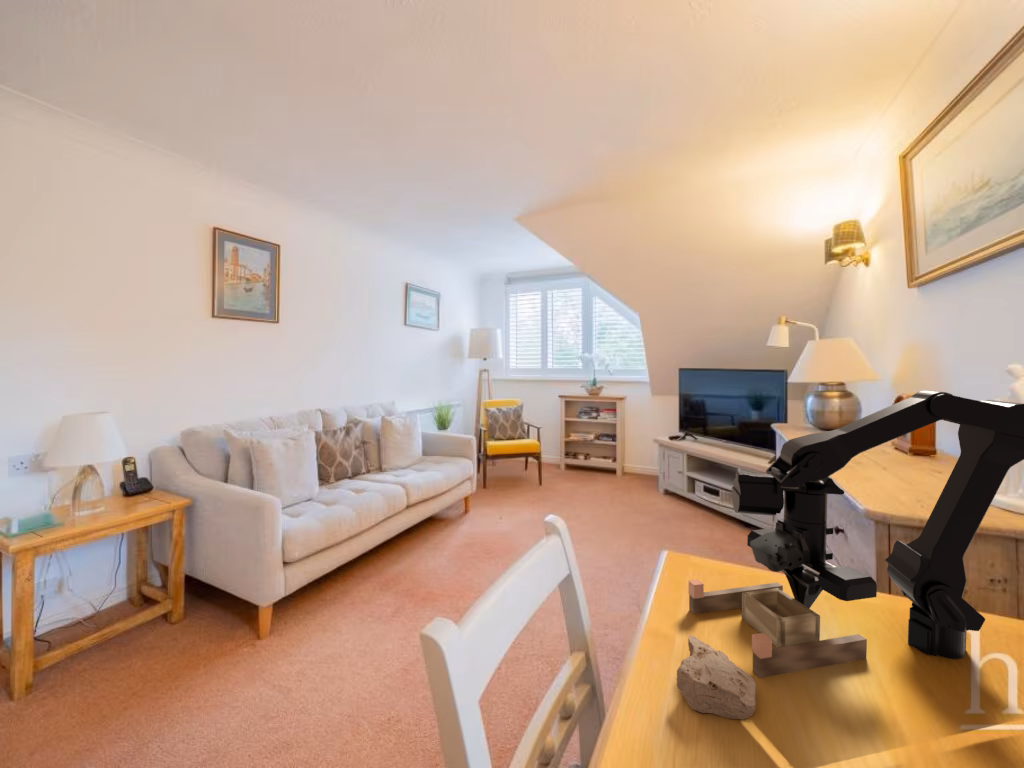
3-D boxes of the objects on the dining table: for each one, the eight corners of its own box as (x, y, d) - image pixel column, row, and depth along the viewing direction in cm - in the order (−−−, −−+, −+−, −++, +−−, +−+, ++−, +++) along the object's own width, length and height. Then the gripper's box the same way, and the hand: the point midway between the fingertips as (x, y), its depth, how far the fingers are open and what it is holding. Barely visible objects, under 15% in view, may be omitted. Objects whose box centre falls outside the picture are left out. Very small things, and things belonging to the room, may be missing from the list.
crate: (777, 613, 71) (777, 587, 71) (819, 643, 63) (820, 615, 63) (741, 618, 70) (742, 592, 70) (780, 650, 62) (780, 621, 62)
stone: (673, 706, 54) (674, 670, 54) (691, 654, 63) (692, 623, 63) (752, 741, 49) (752, 701, 48) (759, 679, 58) (759, 646, 58)
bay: (776, 601, 76) (776, 569, 76) (867, 665, 60) (868, 624, 60) (688, 614, 73) (688, 580, 73) (760, 685, 57) (760, 642, 56)
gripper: (721, 502, 74) (720, 585, 75) (814, 547, 56) (811, 657, 57) (774, 497, 76) (773, 579, 77) (881, 539, 58) (878, 646, 59)
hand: (802, 610), depth 67 cm, fingers closed
